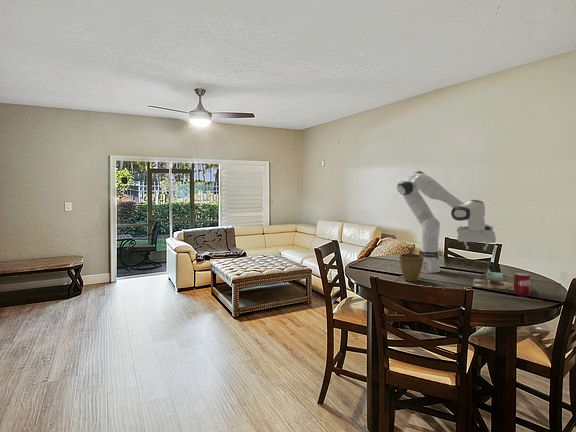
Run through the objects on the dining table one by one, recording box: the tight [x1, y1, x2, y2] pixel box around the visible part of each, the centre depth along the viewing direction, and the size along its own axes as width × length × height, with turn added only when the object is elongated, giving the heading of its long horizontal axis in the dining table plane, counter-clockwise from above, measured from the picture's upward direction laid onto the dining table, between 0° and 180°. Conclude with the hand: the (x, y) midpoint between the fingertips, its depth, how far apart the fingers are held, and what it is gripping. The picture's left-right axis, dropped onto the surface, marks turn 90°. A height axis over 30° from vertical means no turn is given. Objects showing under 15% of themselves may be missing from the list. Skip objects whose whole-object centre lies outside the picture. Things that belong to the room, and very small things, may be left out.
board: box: [472, 272, 514, 291], centre depth 199 cm, size 24×17×6 cm
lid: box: [486, 268, 504, 280], centre depth 199 cm, size 8×14×3 cm, turn 150°
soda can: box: [513, 272, 531, 299], centre depth 181 cm, size 7×7×12 cm
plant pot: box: [398, 253, 424, 282], centre depth 216 cm, size 15×15×16 cm
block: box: [489, 280, 500, 285], centre depth 200 cm, size 4×4×4 cm
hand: (475, 249), depth 203 cm, fingers open, 8 cm apart
